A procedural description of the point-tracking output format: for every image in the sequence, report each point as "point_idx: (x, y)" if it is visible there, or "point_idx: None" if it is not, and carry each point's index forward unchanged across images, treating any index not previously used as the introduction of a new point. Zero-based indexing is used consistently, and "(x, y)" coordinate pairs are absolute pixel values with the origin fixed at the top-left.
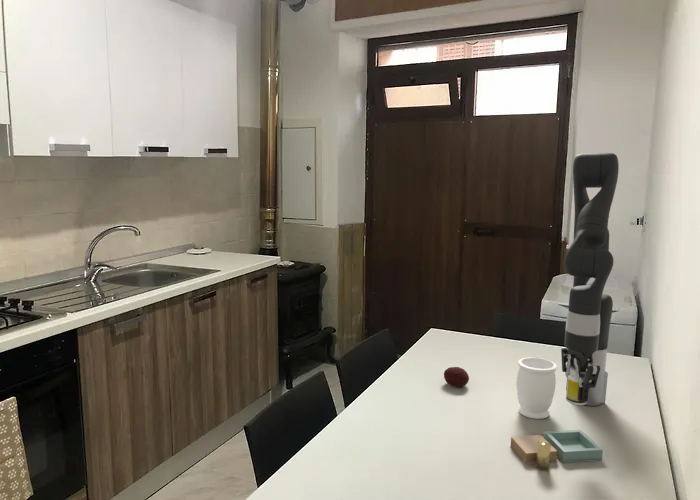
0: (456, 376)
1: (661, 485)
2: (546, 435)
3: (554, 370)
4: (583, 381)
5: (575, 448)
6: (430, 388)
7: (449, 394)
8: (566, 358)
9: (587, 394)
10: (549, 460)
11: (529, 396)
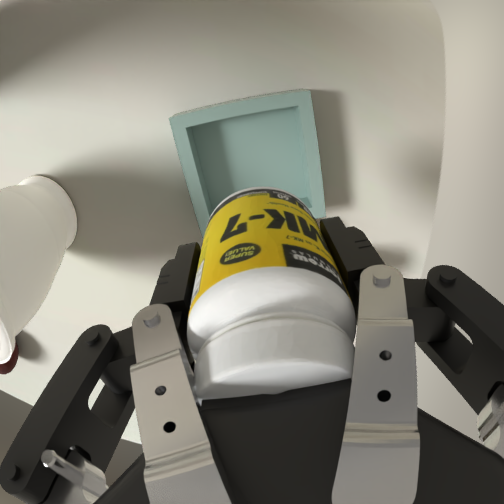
0: (10, 363)
1: (410, 4)
2: None
3: None
4: (355, 325)
5: (249, 149)
6: (42, 375)
7: (45, 356)
8: (97, 454)
9: (374, 252)
10: None
11: (54, 276)
